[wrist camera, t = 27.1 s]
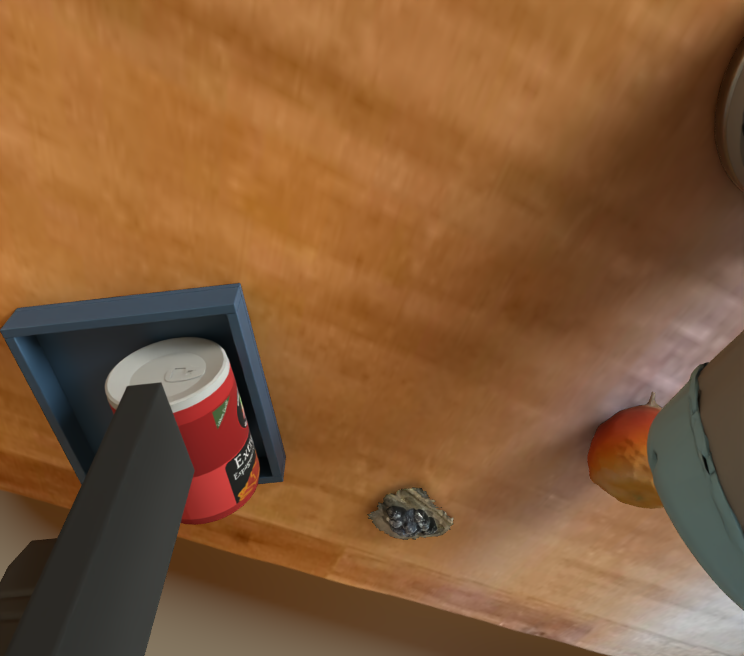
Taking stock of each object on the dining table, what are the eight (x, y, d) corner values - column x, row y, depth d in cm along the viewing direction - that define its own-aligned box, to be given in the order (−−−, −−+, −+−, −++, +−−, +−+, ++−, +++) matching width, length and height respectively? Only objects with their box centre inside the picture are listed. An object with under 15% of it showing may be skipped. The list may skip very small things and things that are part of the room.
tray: (285, 456, 52) (283, 482, 50) (100, 475, 53) (89, 501, 51) (240, 282, 43) (234, 304, 41) (17, 307, 44) (-1, 330, 41)
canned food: (266, 512, 45) (229, 392, 39) (150, 540, 44) (94, 421, 38) (259, 439, 51) (226, 325, 45) (158, 462, 50) (110, 349, 44)
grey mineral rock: (397, 473, 54) (399, 490, 52) (474, 506, 56) (477, 523, 55) (355, 519, 57) (355, 537, 55) (429, 548, 59) (431, 566, 58)
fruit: (727, 427, 50) (720, 525, 46) (632, 436, 56) (618, 524, 51) (674, 369, 46) (661, 469, 42) (579, 386, 52) (560, 475, 48)
